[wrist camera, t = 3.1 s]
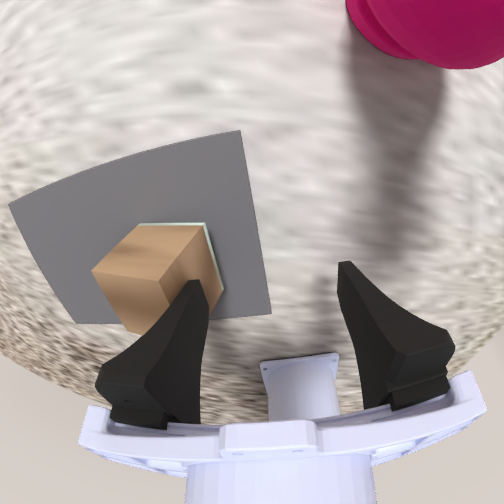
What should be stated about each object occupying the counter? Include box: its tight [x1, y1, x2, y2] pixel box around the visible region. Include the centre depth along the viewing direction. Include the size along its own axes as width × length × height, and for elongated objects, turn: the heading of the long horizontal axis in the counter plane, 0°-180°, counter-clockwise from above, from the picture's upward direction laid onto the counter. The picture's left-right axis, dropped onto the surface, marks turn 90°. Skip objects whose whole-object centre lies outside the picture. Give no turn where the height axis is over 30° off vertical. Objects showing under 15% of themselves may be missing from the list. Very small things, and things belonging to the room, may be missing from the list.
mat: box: [8, 130, 272, 324], centre depth 19 cm, size 14×20×1 cm
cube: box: [91, 223, 224, 335], centre depth 16 cm, size 5×5×5 cm
